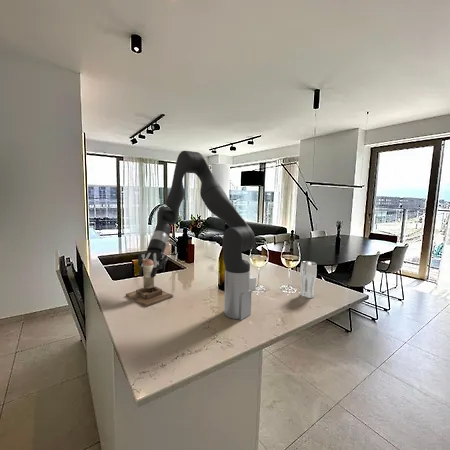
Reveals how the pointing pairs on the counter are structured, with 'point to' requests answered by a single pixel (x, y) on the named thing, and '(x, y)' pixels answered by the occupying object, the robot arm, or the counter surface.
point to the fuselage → (148, 273)
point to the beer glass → (308, 278)
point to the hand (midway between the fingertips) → (146, 276)
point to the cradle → (149, 296)
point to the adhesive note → (252, 283)
